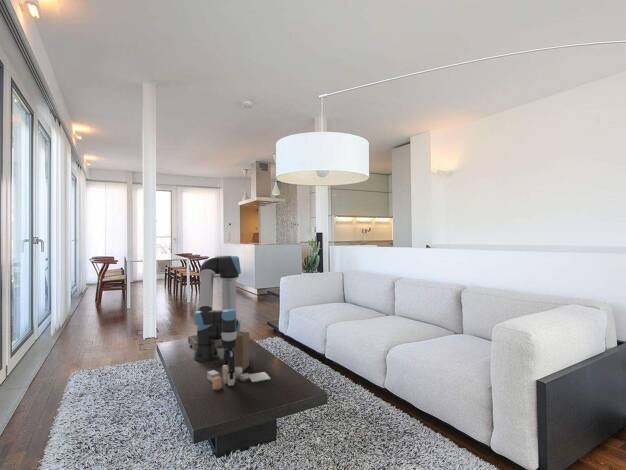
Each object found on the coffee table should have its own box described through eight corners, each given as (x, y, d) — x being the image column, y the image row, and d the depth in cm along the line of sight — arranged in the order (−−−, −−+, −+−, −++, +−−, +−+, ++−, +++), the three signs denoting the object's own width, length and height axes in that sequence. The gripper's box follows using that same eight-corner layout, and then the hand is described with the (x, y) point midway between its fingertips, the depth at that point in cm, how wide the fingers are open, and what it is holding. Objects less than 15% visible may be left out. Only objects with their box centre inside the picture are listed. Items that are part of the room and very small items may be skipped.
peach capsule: (211, 387, 183) (211, 377, 183) (220, 385, 185) (220, 375, 185) (213, 390, 179) (213, 380, 179) (222, 388, 181) (222, 378, 181)
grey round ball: (238, 379, 194) (238, 373, 194) (247, 377, 196) (247, 372, 196) (240, 382, 189) (240, 376, 189) (249, 380, 191) (250, 375, 191)
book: (194, 351, 243) (194, 343, 244) (188, 343, 263) (188, 336, 263) (238, 344, 259) (238, 337, 259) (229, 337, 278) (229, 330, 278)
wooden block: (242, 371, 204) (242, 336, 204) (226, 370, 206) (226, 335, 207) (249, 365, 214) (249, 331, 214) (233, 364, 216) (233, 331, 216)
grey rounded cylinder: (233, 376, 197) (233, 367, 197) (241, 375, 199) (241, 366, 199) (235, 379, 193) (235, 369, 194) (242, 377, 195) (242, 368, 195)
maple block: (222, 380, 191) (222, 365, 191) (232, 378, 194) (232, 364, 194) (224, 384, 186) (224, 368, 186) (235, 382, 189) (235, 367, 189)
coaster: (247, 375, 198) (247, 374, 198) (264, 372, 202) (264, 371, 202) (252, 382, 189) (252, 381, 189) (270, 379, 193) (270, 378, 193)
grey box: (207, 379, 194) (207, 371, 194) (214, 377, 196) (214, 370, 196) (212, 382, 189) (212, 374, 189) (219, 380, 192) (219, 373, 192)
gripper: (217, 334, 199) (217, 374, 199) (226, 345, 178) (225, 390, 178) (231, 333, 202) (231, 372, 202) (241, 344, 181) (240, 388, 181)
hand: (228, 381), depth 190 cm, fingers open, 11 cm apart
